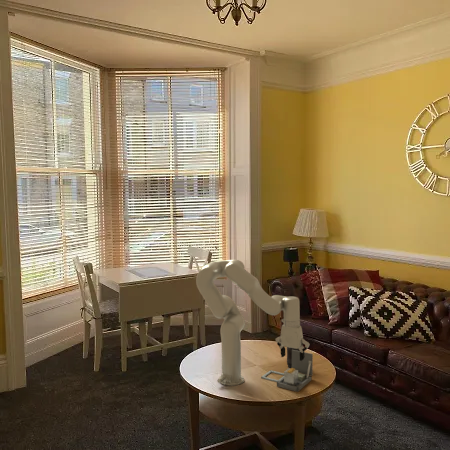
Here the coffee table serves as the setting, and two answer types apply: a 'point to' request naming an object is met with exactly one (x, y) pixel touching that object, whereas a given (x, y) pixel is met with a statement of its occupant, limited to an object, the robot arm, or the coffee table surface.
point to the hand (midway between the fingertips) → (292, 358)
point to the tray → (270, 378)
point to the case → (299, 371)
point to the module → (291, 377)
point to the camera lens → (290, 356)
